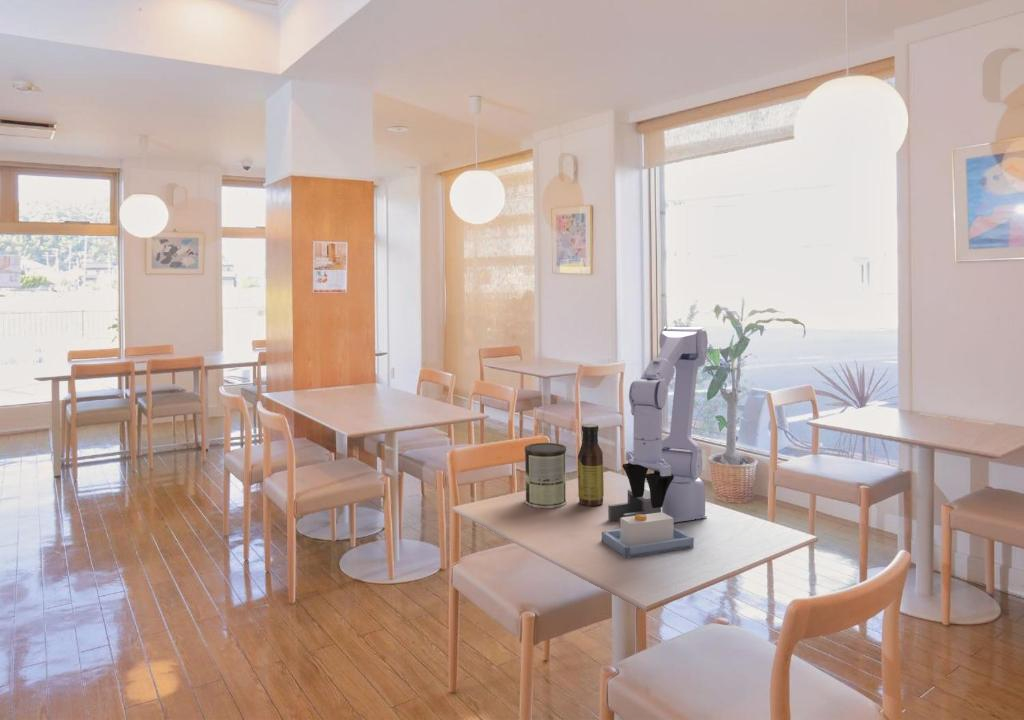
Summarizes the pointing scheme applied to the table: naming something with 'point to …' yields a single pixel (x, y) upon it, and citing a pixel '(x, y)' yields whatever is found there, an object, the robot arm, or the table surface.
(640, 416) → the robot arm
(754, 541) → the table surface
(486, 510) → the table surface
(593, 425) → the sauce bottle
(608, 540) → the tray
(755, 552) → the table surface
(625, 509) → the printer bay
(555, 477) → the coffee can
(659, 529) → the white block with knob
